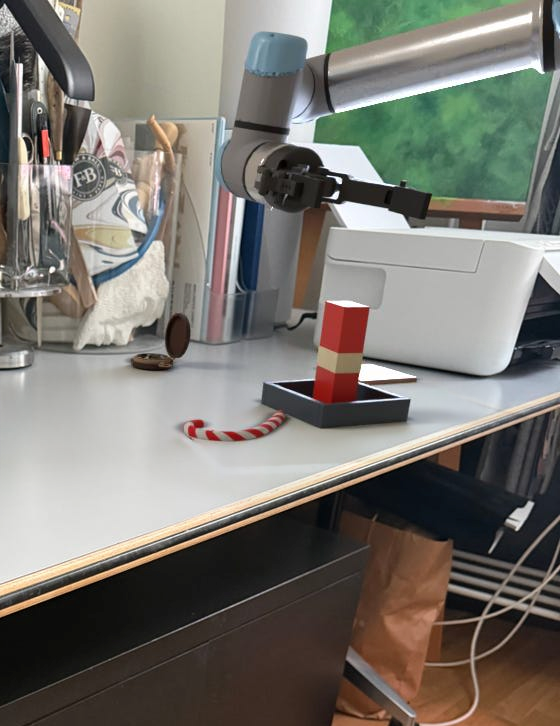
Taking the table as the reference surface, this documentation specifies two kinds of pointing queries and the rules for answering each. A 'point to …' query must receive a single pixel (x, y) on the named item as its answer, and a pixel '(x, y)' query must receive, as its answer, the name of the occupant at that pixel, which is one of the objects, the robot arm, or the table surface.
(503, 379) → the table surface
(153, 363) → the compass
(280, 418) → the candy cane
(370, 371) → the board
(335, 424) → the tray
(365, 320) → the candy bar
